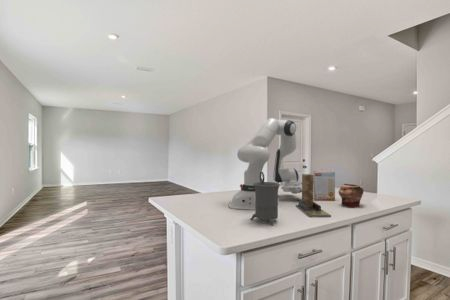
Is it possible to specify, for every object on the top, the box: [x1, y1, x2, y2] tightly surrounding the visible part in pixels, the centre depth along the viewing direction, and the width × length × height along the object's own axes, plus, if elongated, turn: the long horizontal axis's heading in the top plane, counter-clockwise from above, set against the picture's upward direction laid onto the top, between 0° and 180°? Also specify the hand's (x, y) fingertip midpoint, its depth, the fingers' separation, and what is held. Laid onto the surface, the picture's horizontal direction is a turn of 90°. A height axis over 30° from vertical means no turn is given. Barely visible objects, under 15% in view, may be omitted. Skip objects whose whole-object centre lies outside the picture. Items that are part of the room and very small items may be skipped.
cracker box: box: [312, 170, 336, 202], centre depth 181 cm, size 14×6×21 cm, turn 84°
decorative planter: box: [338, 183, 364, 208], centre depth 163 cm, size 20×12×14 cm, turn 116°
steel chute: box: [295, 199, 332, 218], centre depth 148 cm, size 12×25×4 cm, turn 1°
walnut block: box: [301, 173, 314, 208], centre depth 155 cm, size 5×6×20 cm
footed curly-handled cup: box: [250, 171, 281, 227], centre depth 129 cm, size 19×15×25 cm
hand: (300, 190), depth 168 cm, fingers closed
